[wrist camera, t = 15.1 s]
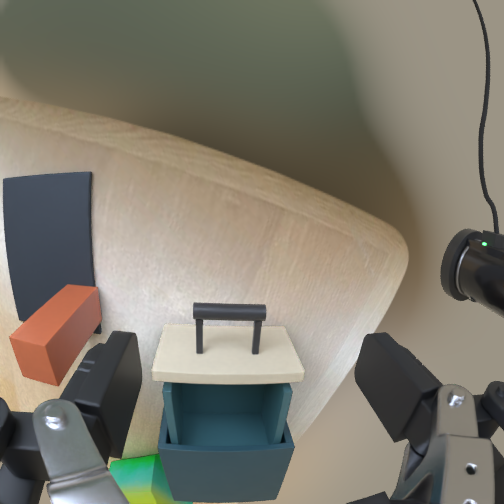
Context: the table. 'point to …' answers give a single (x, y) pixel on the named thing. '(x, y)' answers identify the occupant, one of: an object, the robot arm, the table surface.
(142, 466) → the cubic fruit with leaf
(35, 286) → the mat
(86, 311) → the block
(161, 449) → the cabinet
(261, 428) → the drawer
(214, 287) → the table surface
